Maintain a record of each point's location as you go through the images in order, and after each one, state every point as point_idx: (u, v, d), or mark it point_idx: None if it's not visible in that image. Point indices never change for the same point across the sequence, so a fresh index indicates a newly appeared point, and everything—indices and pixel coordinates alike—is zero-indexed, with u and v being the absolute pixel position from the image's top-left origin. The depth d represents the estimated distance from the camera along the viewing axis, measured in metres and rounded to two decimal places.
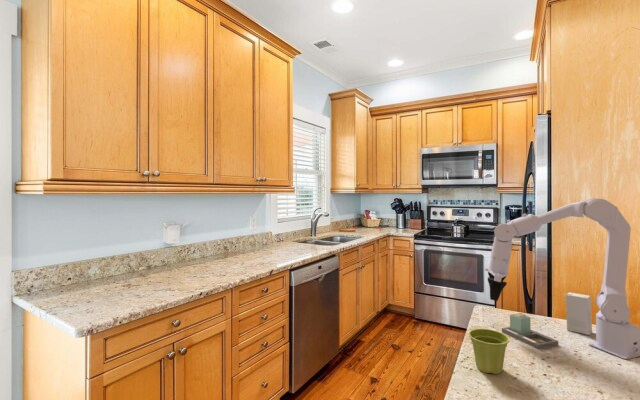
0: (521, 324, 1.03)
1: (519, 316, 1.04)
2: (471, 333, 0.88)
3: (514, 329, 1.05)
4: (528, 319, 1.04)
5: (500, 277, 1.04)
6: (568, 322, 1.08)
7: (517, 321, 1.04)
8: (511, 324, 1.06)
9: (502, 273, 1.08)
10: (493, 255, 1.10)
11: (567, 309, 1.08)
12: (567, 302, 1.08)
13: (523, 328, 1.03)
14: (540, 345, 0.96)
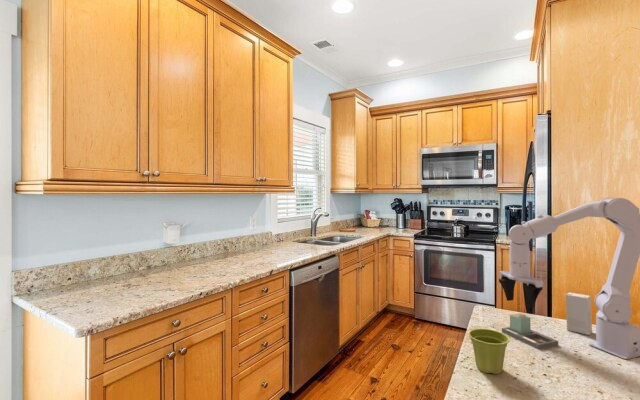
0: (521, 324, 1.03)
1: (519, 316, 1.05)
2: (471, 333, 0.88)
3: (514, 329, 1.05)
4: (528, 319, 1.04)
5: (542, 282, 0.99)
6: (568, 322, 1.08)
7: (517, 321, 1.04)
8: (511, 324, 1.06)
9: (530, 277, 1.03)
10: (512, 260, 1.05)
11: (567, 309, 1.08)
12: (567, 302, 1.08)
13: (523, 328, 1.03)
14: (540, 345, 0.96)
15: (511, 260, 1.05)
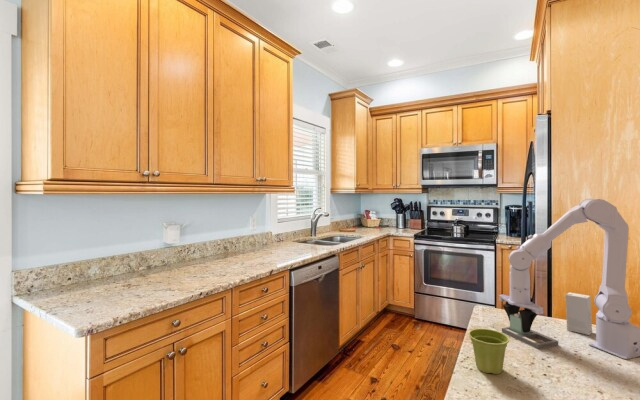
0: (521, 324, 1.03)
1: (519, 316, 1.05)
2: (471, 333, 0.88)
3: (514, 329, 1.05)
4: None
5: (542, 309, 0.99)
6: (568, 322, 1.08)
7: (517, 321, 1.04)
8: (511, 324, 1.06)
9: (530, 302, 1.03)
10: (512, 285, 1.05)
11: (567, 309, 1.08)
12: (567, 302, 1.08)
13: None
14: (540, 345, 0.96)
15: (511, 285, 1.05)
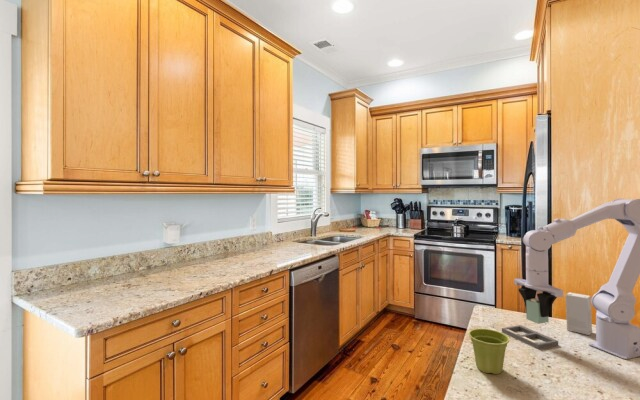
0: (539, 309, 0.97)
1: (536, 301, 0.99)
2: (471, 333, 0.88)
3: (531, 315, 0.99)
4: None
5: (562, 291, 0.93)
6: (568, 322, 1.08)
7: (534, 307, 0.98)
8: (528, 309, 1.00)
9: (548, 285, 0.98)
10: (532, 268, 0.98)
11: (567, 309, 1.08)
12: (567, 302, 1.08)
13: None
14: (540, 345, 0.96)
15: (530, 268, 0.99)
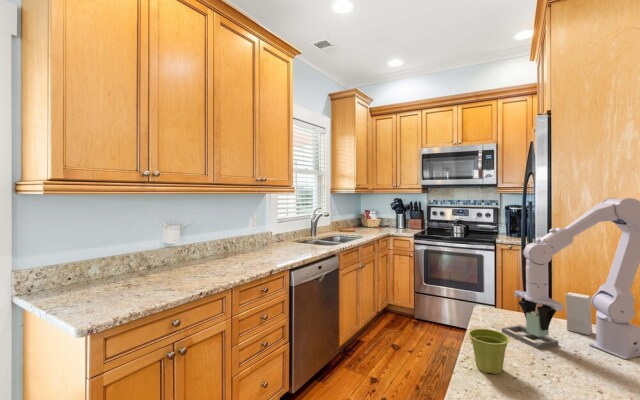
0: (539, 322, 0.97)
1: (536, 314, 0.99)
2: (471, 333, 0.88)
3: (531, 328, 0.99)
4: None
5: (562, 305, 0.93)
6: (568, 322, 1.08)
7: (534, 320, 0.99)
8: (528, 322, 1.01)
9: (548, 299, 0.98)
10: (532, 281, 0.98)
11: (567, 309, 1.08)
12: (567, 302, 1.08)
13: (540, 326, 0.98)
14: (540, 345, 0.96)
15: (530, 281, 0.99)
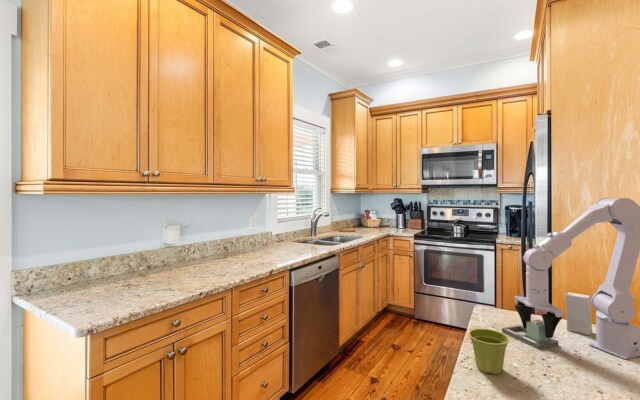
0: (539, 332, 0.97)
1: (536, 323, 0.99)
2: (471, 333, 0.88)
3: (532, 337, 0.99)
4: None
5: (562, 311, 0.93)
6: (568, 322, 1.08)
7: (534, 329, 0.99)
8: (528, 331, 1.01)
9: (548, 304, 0.98)
10: (532, 287, 0.98)
11: (567, 309, 1.08)
12: (567, 302, 1.08)
13: (540, 336, 0.98)
14: (540, 345, 0.96)
15: (530, 287, 0.99)
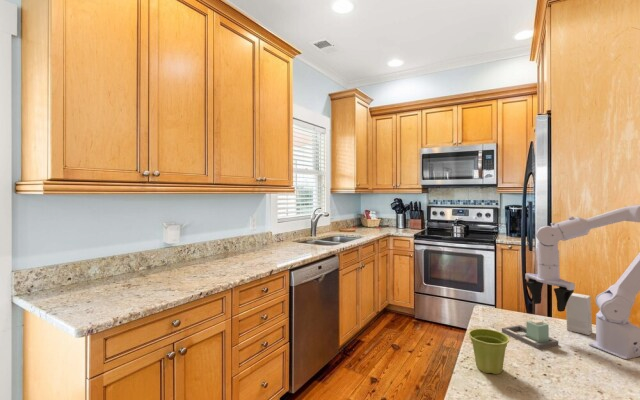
0: (539, 332, 0.97)
1: (536, 323, 0.99)
2: (471, 333, 0.88)
3: (532, 337, 0.99)
4: (546, 326, 0.98)
5: (574, 284, 0.96)
6: (568, 322, 1.08)
7: (534, 329, 0.99)
8: (528, 331, 1.01)
9: (559, 279, 1.01)
10: (540, 262, 1.02)
11: (567, 309, 1.08)
12: (567, 302, 1.08)
13: (540, 336, 0.98)
14: (540, 345, 0.96)
15: (539, 262, 1.02)
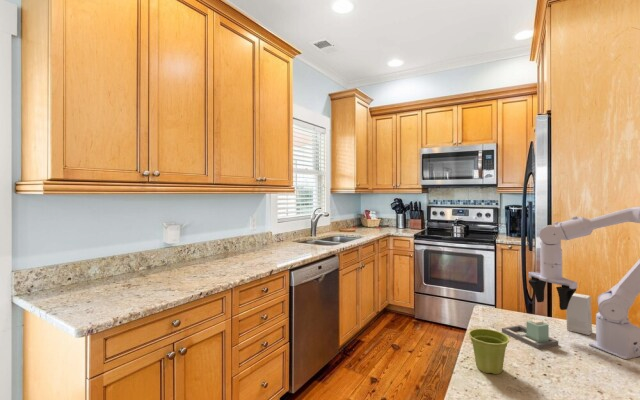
0: (539, 332, 0.97)
1: (536, 323, 0.99)
2: (471, 333, 0.88)
3: (532, 337, 0.99)
4: (546, 326, 0.98)
5: (576, 283, 0.97)
6: (568, 322, 1.08)
7: (534, 329, 0.99)
8: (528, 331, 1.01)
9: (562, 278, 1.01)
10: (543, 260, 1.03)
11: (567, 309, 1.08)
12: None
13: (540, 336, 0.98)
14: (540, 345, 0.96)
15: (541, 261, 1.04)
